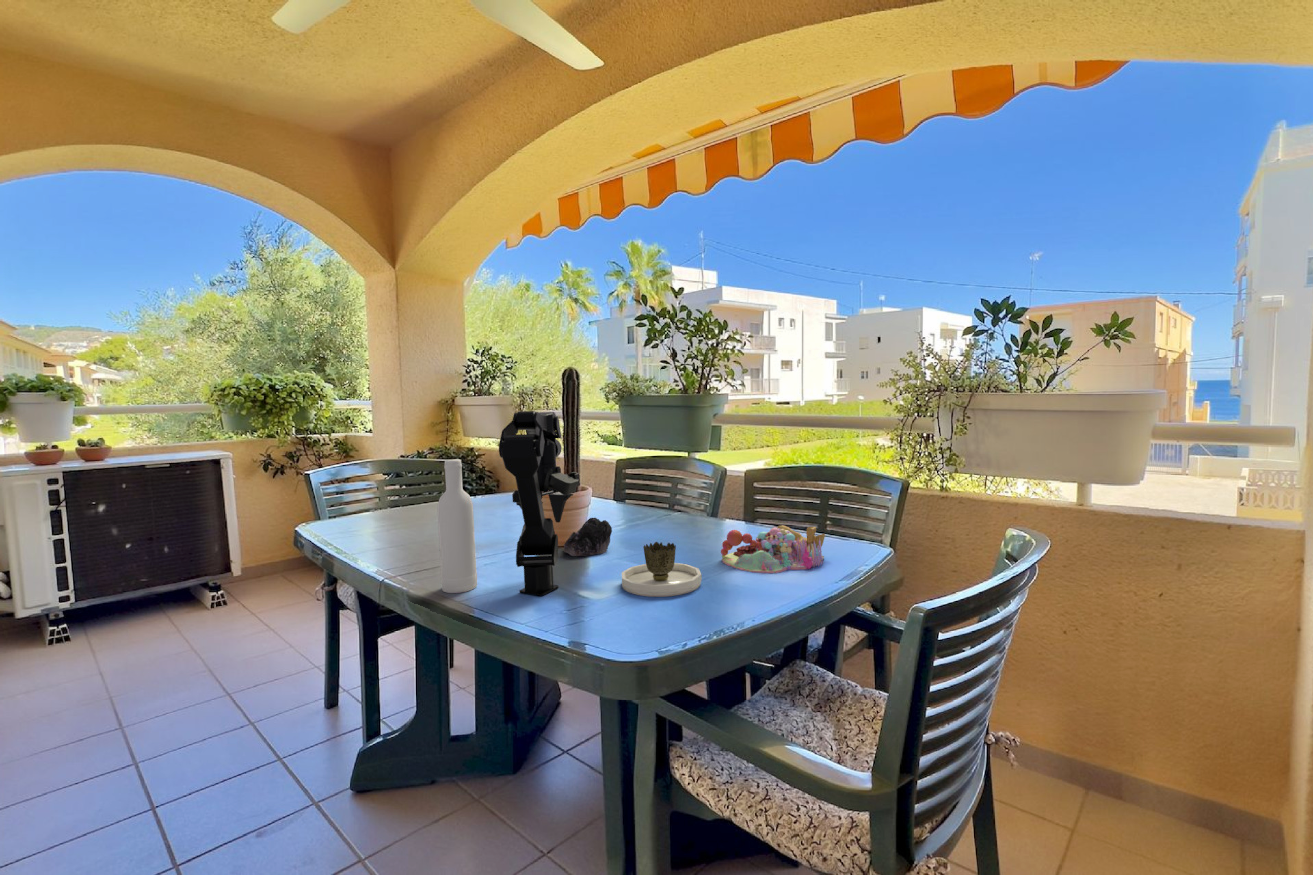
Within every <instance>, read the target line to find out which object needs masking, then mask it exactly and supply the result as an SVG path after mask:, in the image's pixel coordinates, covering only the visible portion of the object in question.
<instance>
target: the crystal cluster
mask: <svg viewBox="0 0 1313 875" xmlns="http://www.w3.org/2000/svg"><path fill="white" fill-rule="evenodd" d="M612 532H613V527H612V525H611V524H610V523H609V522H608V521H607V520H606V519H605V520H600V519H599V518H597V517H589V519H587V520H586V521H585V522H584V523H583V524H582V526H581V527H580V528H579V529H578V530H577V532H575V531H573V532H572V533H571V534H570V535H569V536H568V539H567V540H566V541H565V542H564V544H563V545H564V546H563V552H564V553H567V554H568V555H570V556H571V557H572V556H573V557H587V556H593V555H599V554H600V555H601V554H605V553H606V552H608V550H609V546H610V544H611V535H612Z"/></svg>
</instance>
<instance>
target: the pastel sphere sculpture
mask: <svg viewBox="0 0 1313 875" xmlns="http://www.w3.org/2000/svg"><path fill="white" fill-rule="evenodd" d="M805 532H806V536H805V537H804V536H803V535H802V534H801V533H800V532H797V531H795V530H793V529H792V528H791V527H789V526H786V525H783V524H782V525H778V526H777V527H776V526H774V527H772V528H770V530H769V531H760V532H759V533H758V534H757V536H756V537H755V539H753V536H752V535H751V534H750V533H747V532H746V533H744V534H742V533H741V532H740V530H737V529H732V530H730V531H729V532H727V534H726V539H725V540H724V541H723V542H722V544H721V546H722V548H721V550H720V553H721V561H722V563H723V564H725V565H726V566H729V567H732V568H733V569H737V570H740V571H745V572H751V573H756V574H757V573H759V574H777V573H782V572H785V571H789V570H790V571H791V570H792V571H793V570H794V571H795V570H796V571H798V570H804V571H805V570H810V569H811V568H814V569H815V568H816V567H820V565H821V566H822V565H823V564H824V559H825V555H823V554H822V548H823V545H824V540H825V538H826V534H825V533H820V534H818V535H816V532H817V527H816V526H808V527H807V528H806V531H805ZM742 542H743V543H744V544H746V545H741V544H742ZM739 545H741V546H739ZM738 546H739V547H738ZM733 547H737V548H736V551H733V552H730V553H729V551H730V550H732V549H733Z"/></svg>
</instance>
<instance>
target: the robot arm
mask: <svg viewBox="0 0 1313 875" xmlns="http://www.w3.org/2000/svg"><path fill="white" fill-rule="evenodd" d="M519 431H525V434H518V433H519ZM558 439H562V432H561V426H560V420H559V416H557V414H556V412H555V411H545V412H541V411H540V412H538V411H535V410H524V411H523V410H522V411H521V410H519V411H517V412H514V413H513V416H512V420H511V421H510V422H509V423H508V424H507V425H506V426H505V427H503V429H502V431H501V434H500V439H499V443H498V453H499V458H501V459H502V462H503V465H504V468H505V470H506V471H508V472H509V473H510V474H511V475H512V476H514V478H515V483H516V487H517V490H514V492H513V493H512V503H516V506H519V507H520V509H521V514H522V518H523V523H524V524H523V526H522V529H521V534H520V536H519V538H518V540H517V543H516V550H515V551H516V552H515V565H516V566H517V568H520V567H523V579H524V587H523V588H521V589H519V591H518V592H519V593H520V594H526V595H533V596H541V597H542V596H544V595H547V594H548V593H551V592H552V591H554V590H558V589H559V585H557V584H554V574H553V573H554V570H553V566H556V564H557V563H558V559H559V537H558V534H557V533H556V532H555V527H554V522H553V519H552V518H551V517H545V512H544V506H543V503H544V502H543V497H544V496H547V495H548V498H549V502H550V507H551V510H552V514H553V517H554V521H555V523H561V520H562V517H563V514H564V513H563V512H564V510H565V506H566V503H567V501H568V500H569V499H570V498H571V497H572V496H573V495H574V494H575V493H576V492H577V488H578V487H579V486H581V482H580V473H578V472H576V471H573V472H569V474H567V473H566V474H564V473H562V468H561V466H557V457H559V456H560V455H561V452H562V449H563V448H562V445H561V443H560V440H558Z"/></svg>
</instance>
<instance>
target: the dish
mask: <svg viewBox="0 0 1313 875" xmlns="http://www.w3.org/2000/svg"><path fill="white" fill-rule="evenodd" d="M668 575H669V577H668V579H667V580H665V581H655V580H654V579H653V573H651V572H650V571H649V570H648V568H647V566H646V563H644V564H639V565H634V566H631V567H629V568H627V569H625V570H624V571H621V587H622V589H623V590H624V591H625V592H627V593H630V594H632V595H636V596H640V597H641V596H642V597H648V598H649V597H651V598H652V597H653V598H655V597H656V598H661V597H662V598H664V597H665V598H667V597H675V596H680V595H686V594H688V593H691V592H694V591H695V590H697V589H699V588H700V587H701V585H702V584H701V582H702V580H703V579H702V573H701V571H700V568H699V567H696V566H693V565H689V564H686V563H681V562H680V563H679V562H674V567H673V569H672V570H671V571H670V572H669V573H668Z"/></svg>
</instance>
